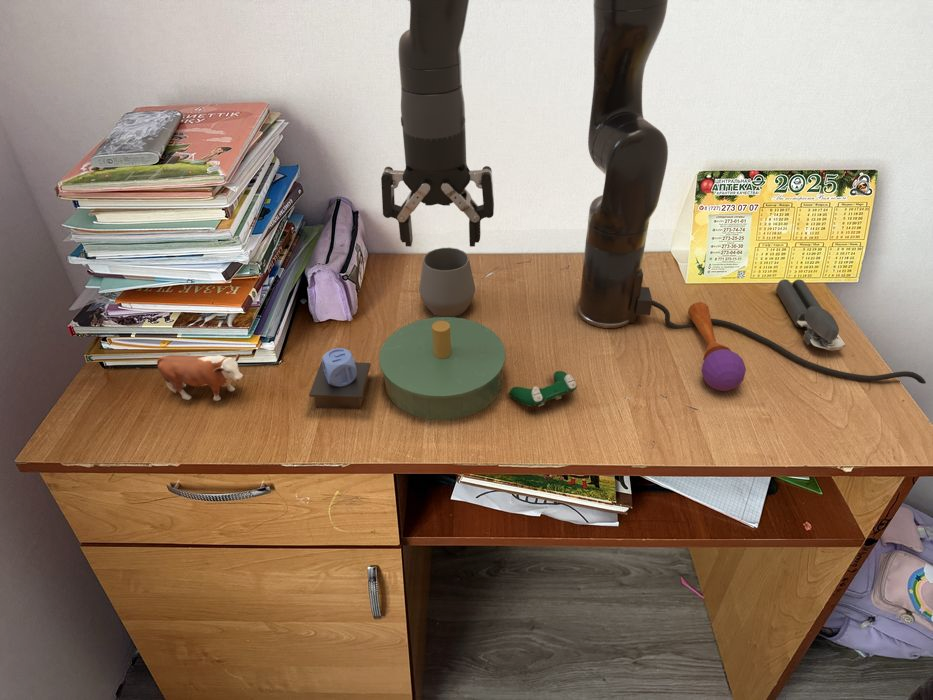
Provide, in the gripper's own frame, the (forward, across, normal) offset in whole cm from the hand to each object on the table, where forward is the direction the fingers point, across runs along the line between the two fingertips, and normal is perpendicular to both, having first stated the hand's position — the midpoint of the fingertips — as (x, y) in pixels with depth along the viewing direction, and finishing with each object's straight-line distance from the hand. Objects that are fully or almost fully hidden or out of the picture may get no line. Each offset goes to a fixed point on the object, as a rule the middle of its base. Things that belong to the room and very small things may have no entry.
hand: (440, 243), depth 90 cm
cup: (+22, +1, -16) cm, 27 cm away
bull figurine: (+22, +34, +8) cm, 41 cm away
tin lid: (+17, 0, +3) cm, 17 cm away
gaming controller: (+22, -15, +6) cm, 27 cm away
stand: (+22, +15, +7) cm, 27 cm away
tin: (+22, 0, +3) cm, 22 cm away
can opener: (+23, -58, -14) cm, 64 cm away
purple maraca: (+23, -41, -5) cm, 47 cm away
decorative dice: (+18, +15, +7) cm, 25 cm away
